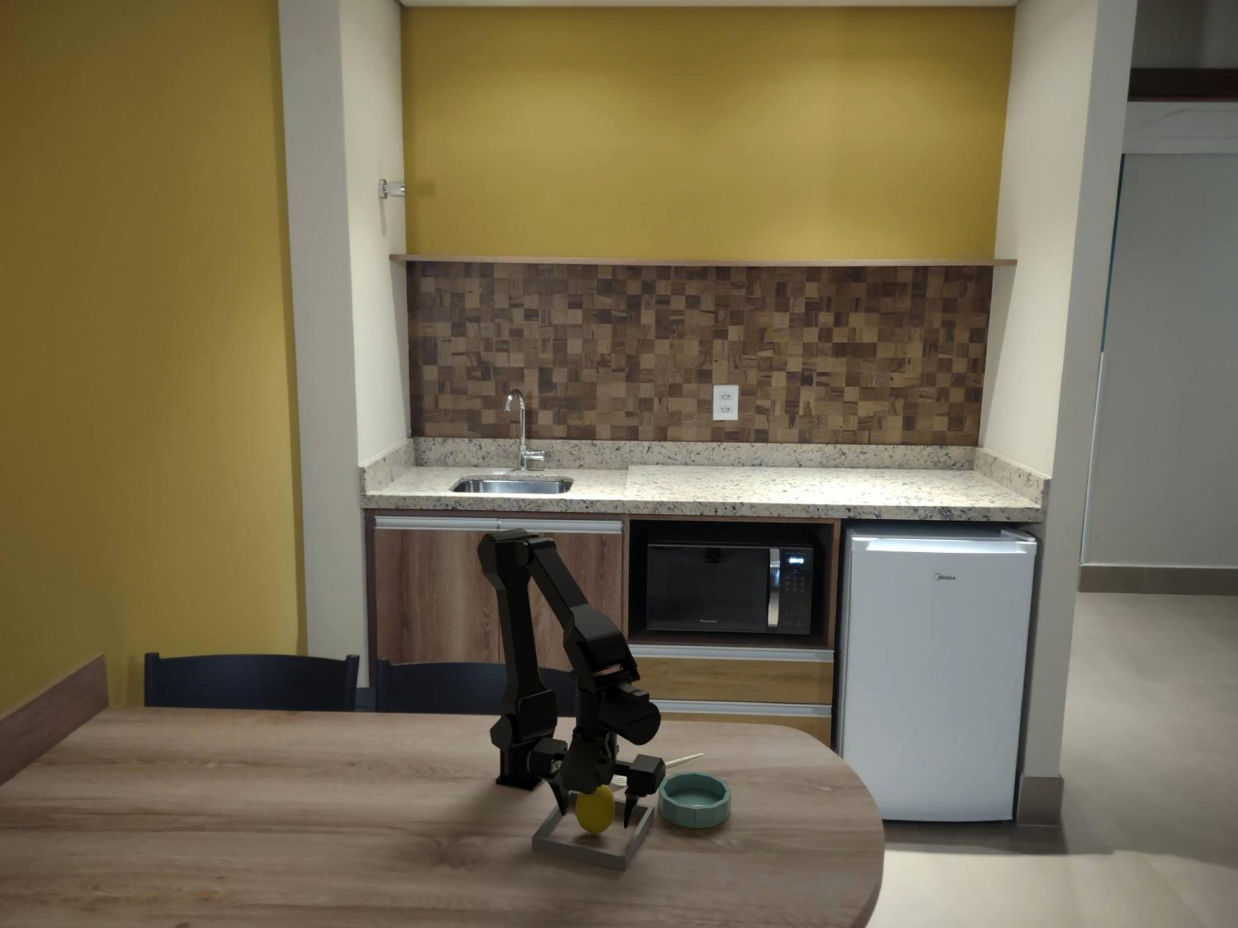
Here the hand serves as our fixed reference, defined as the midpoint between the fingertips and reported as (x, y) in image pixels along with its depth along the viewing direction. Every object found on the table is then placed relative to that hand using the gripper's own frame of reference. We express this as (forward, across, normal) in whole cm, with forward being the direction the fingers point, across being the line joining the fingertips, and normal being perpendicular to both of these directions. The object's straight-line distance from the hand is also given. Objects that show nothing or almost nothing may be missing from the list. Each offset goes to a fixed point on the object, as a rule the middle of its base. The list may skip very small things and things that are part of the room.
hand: (595, 820), depth 130 cm
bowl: (+2, +12, +12) cm, 16 cm away
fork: (+3, +3, +20) cm, 21 cm away
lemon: (+2, 0, 0) cm, 2 cm away
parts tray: (+2, 0, 0) cm, 2 cm away
